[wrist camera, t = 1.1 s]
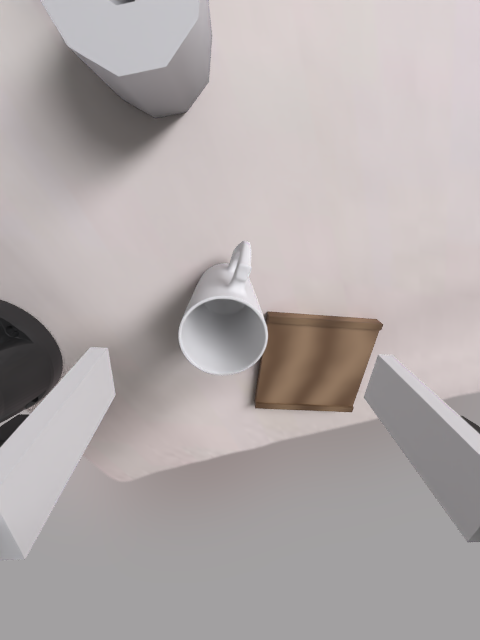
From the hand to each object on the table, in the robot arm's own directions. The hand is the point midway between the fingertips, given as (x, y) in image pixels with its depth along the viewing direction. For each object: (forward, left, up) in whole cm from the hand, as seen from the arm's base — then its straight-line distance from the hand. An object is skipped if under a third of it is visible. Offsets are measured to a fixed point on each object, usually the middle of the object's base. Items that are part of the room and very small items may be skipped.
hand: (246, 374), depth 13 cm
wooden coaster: (+11, -11, -19) cm, 24 cm away
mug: (-1, 0, -19) cm, 19 cm away
